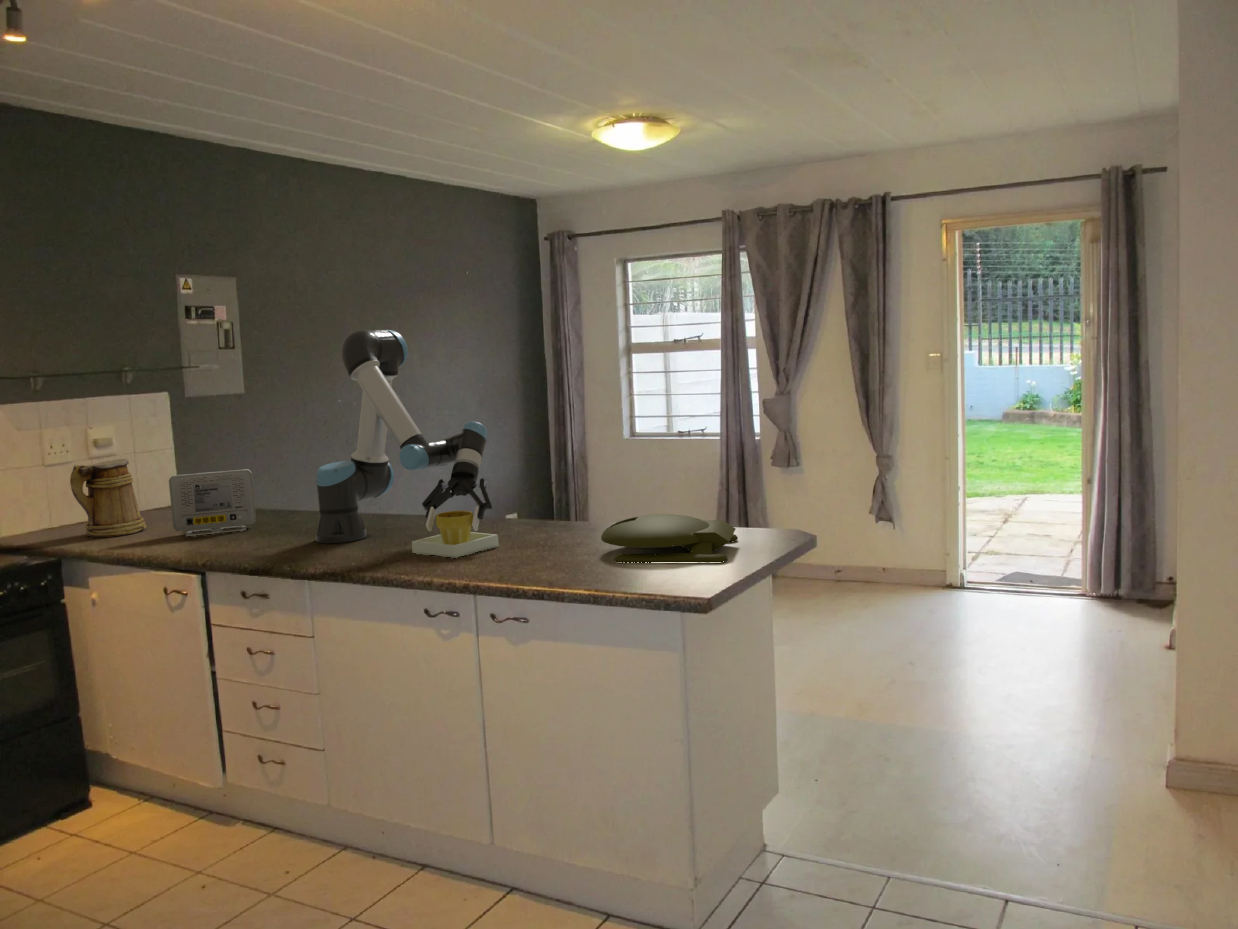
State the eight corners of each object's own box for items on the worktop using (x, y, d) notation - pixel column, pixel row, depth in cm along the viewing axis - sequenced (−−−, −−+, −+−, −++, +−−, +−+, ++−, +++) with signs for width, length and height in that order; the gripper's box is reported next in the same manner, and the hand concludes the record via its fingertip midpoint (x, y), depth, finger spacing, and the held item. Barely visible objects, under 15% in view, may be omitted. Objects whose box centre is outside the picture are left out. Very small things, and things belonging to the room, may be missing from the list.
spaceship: (739, 540, 275) (737, 505, 273) (727, 565, 245) (725, 526, 244) (615, 541, 282) (614, 507, 281) (589, 566, 252) (587, 528, 251)
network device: (256, 525, 340) (251, 468, 337) (257, 529, 331) (251, 470, 329) (175, 534, 331) (169, 474, 328) (173, 538, 323) (167, 477, 320)
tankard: (157, 528, 344) (150, 457, 342) (98, 542, 323) (89, 466, 320) (121, 527, 352) (113, 457, 349) (60, 540, 331) (51, 466, 328)
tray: (412, 553, 278) (411, 541, 277) (456, 542, 291) (455, 530, 291) (455, 558, 268) (454, 546, 267) (498, 546, 281) (497, 534, 281)
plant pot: (467, 551, 273) (465, 516, 272) (432, 551, 275) (430, 517, 274) (480, 544, 283) (478, 510, 282) (446, 544, 285) (443, 510, 284)
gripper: (510, 474, 290) (497, 535, 277) (430, 476, 295) (413, 536, 282) (503, 458, 284) (490, 519, 271) (421, 461, 289) (404, 521, 276)
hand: (451, 528), depth 276 cm, fingers open, 13 cm apart
